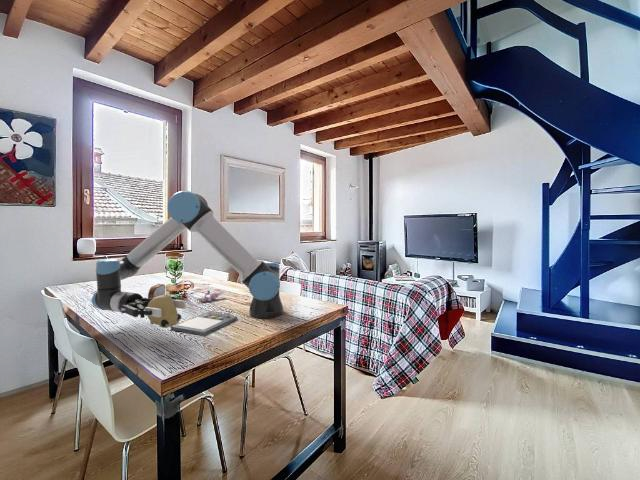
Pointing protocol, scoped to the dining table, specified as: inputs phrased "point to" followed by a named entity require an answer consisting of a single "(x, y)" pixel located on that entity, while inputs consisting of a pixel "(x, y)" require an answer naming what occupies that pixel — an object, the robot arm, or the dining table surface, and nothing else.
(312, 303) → the dining table surface
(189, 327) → the breaker panel
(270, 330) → the dining table surface
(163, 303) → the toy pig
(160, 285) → the tin
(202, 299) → the rabbit figure
